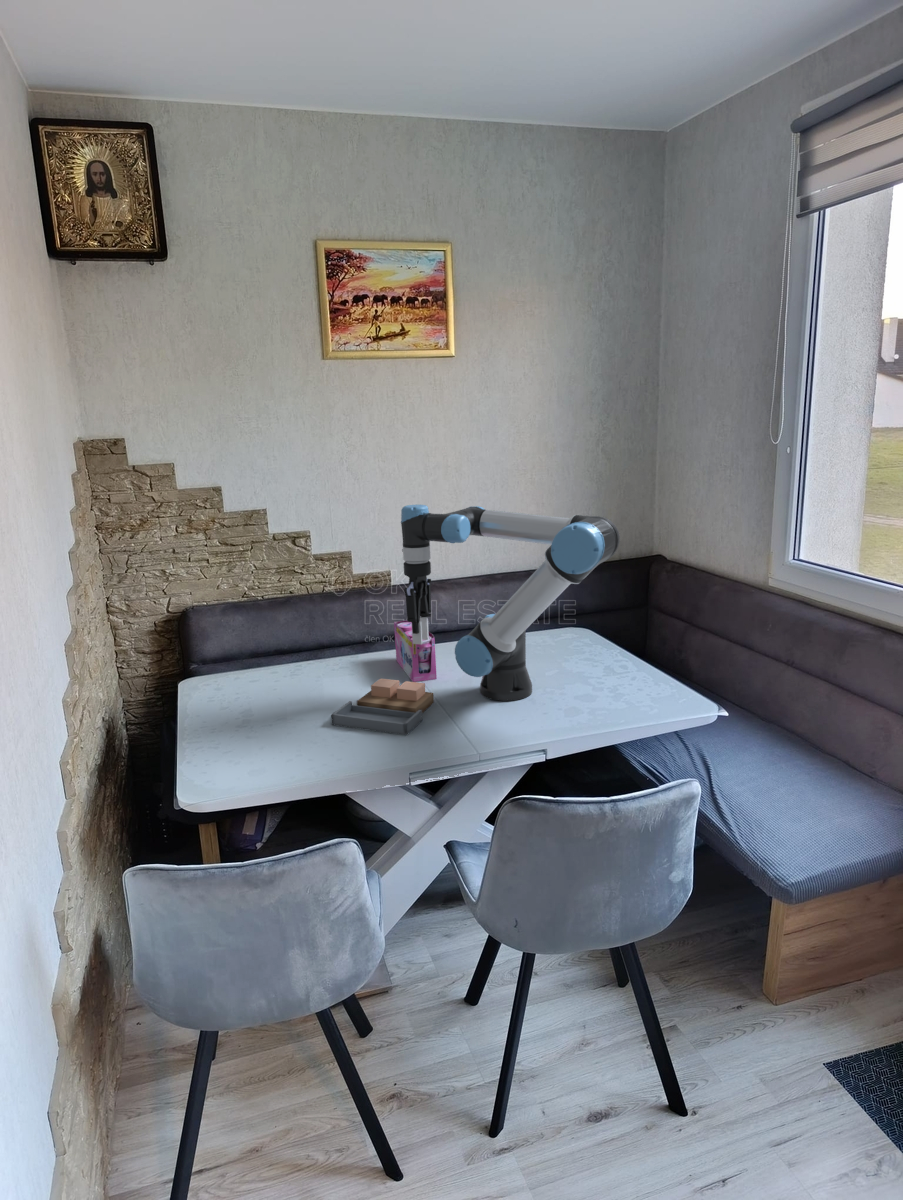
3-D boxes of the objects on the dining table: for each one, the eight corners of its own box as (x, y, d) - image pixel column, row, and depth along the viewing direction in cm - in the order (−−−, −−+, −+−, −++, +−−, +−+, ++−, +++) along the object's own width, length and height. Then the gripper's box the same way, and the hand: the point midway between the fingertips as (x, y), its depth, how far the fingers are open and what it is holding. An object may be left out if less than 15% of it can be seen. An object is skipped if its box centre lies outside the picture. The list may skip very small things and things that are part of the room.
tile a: (425, 693, 217) (424, 683, 216) (416, 700, 212) (416, 690, 211) (406, 691, 219) (405, 681, 219) (397, 698, 214) (396, 688, 213)
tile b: (399, 690, 220) (399, 680, 219) (390, 697, 215) (390, 687, 214) (381, 688, 222) (380, 678, 222) (371, 695, 217) (370, 685, 216)
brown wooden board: (433, 702, 218) (433, 692, 217) (416, 718, 207) (415, 708, 206) (377, 695, 225) (376, 686, 224) (357, 711, 214) (356, 701, 213)
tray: (422, 720, 206) (421, 710, 205) (406, 735, 197) (405, 724, 196) (350, 711, 214) (349, 701, 213) (331, 725, 205) (331, 714, 204)
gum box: (438, 680, 235) (437, 638, 232) (413, 684, 233) (411, 641, 230) (418, 657, 258) (416, 618, 254) (395, 660, 255) (393, 621, 252)
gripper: (417, 554, 222) (420, 632, 228) (391, 566, 207) (396, 649, 213) (441, 555, 220) (444, 634, 225) (416, 567, 205) (420, 651, 210)
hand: (420, 641), depth 219 cm, fingers open, 4 cm apart
